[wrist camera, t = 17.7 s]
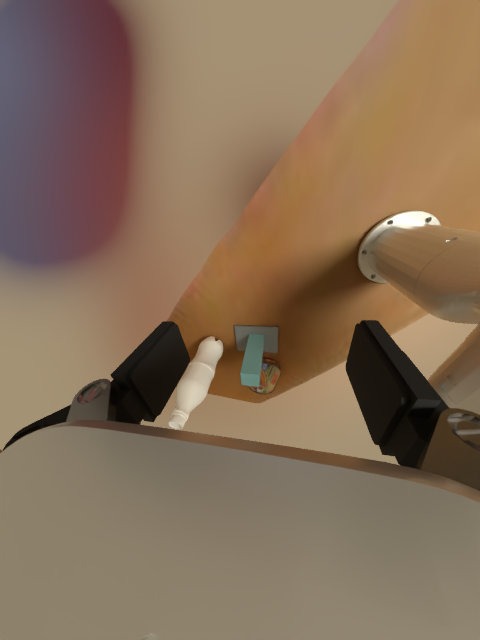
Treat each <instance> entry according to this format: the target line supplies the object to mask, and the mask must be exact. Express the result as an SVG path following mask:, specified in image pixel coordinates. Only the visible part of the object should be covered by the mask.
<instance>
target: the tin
mask: <svg viewBox="0 0 480 640" xmlns="http://www.w3.org/2000/svg"><path fill="white" fill-rule="evenodd" d="M280 375H281V372H280V366H279V364H278V363H277V362H276V361H275V360H272V359H268V358H262V367H261V376H260V384H259V387H255V386H249V387H250V389H251V390H252V391H254V392H256V393H259V394H269V393H271V392H273V391H274V389H275V386H276V384H277V382H278V380H279V378H280Z"/></svg>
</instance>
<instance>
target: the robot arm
mask: <svg viewBox="0 0 480 640" xmlns="http://www.w3.org/2000/svg"><path fill="white" fill-rule="evenodd" d="M388 221H389V223H388V224H387V222H388ZM362 251H364V252H363V253H362ZM357 262H358V267H359V269H360V271H361V272H362V274H363V275H364V276H365V277H367V278H368V279H370V280H372V281H374V282H378V283H390V284H391V285H392V286H394V287H395V288H396V289H398V290H399V291H400V292H401V293H403V294H404V295H405V296H407V297H408V298H409V299H411V300H412V301H413V302H415V303H416V304H417V305H419V306H420V307H421V308H423V309H424V310H425V311H427V312H428V313H430V314H431V315H433V316H435V317H437V318H440V319H443V320H447V321H450V322H456V323H467V324H478V325H477V327H476V328H475V329H474V330H473V331H472V332H471V333H470V334H469V336H468V337H467V338H466V339H465V341H464V342H463V343H462V344H461V345H460V346H459V347H458V348H457V349H456V350H455V351H454V352H453V353H452V354H451V355H450V356H449V357H448V358H447V359H446V360H445V361H444V362H443V363H442V364H441V365H440V366H439V367H438V369H437V370H436V371H435V372H434V373H433V374H432V375H431V376H430V378H429V379H428V380H426V378H425V377H424V376H423V375H422V373H421V372H420V371H419V370H418V369H417V367H416V366H415V365H414V364H413V362H412V361H411V360H410V359H409V357H407V355H406V354H405V353H404V352H403V351H402V350H401V349H400V348H399V347H398V345H397V344H396V343H395V342H394V340H393V339H392V338H391V337H390V335H389V334H388V333H387V332H386V330H385V329H384V328H383V327H382V325H381V324H380V323H379V322H378V321H376V320H362V321H361V322H360V324H356V326H355V330H354V334H353V338H352V342H351V346H350V350H349V354H348V358H347V363H346V372H347V374H348V377H349V380H350V382H351V385H352V388H353V390H354V393H355V395H356V398H357V401H358V403H359V406H360V409H361V411H362V414H363V417H364V419H365V422H366V424H367V427H368V430H369V432H370V435H371V438H372V440H373V442H374V444H376V445H379V447H380V449H381V452H382V455H390V456H395V457H396V459H397V461H398V464H400V465H396V464H391V463H387V462H381V461H375V460H368V459H363V458H357V457H351V456H345V455H340V454H334V453H327V452H320V451H314V450H308V449H301V448H295V447H288V446H281V445H275V444H268V443H262V442H255V441H249V440H242V439H235V438H228V437H222V436H214V435H208V434H201V433H194V432H187V431H181V430H174V429H167V428H159V427H152V426H145V425H140V422H141V421H142V419H143V420H144V421H149V422H154V421H155V419H156V417H157V416H158V415H160V414H161V412H162V410H163V409H164V407H165V405H166V403H167V402H168V400H169V398H170V396H171V394H172V392H173V391H174V389H175V387H176V386H177V384H178V382H179V380H180V379H181V377H182V375H183V373H184V372H185V370H186V368H187V366H188V365H189V362H190V357H189V354H188V352H187V349H186V346H185V344H184V341H183V338H182V336H181V333H180V330H179V328H178V325H177V324H175V323H174V322H162V323H161V324H160V325H159V326H158V327H157V328H156V329H155V330H154V331H153V332H152V333H151V334H150V335H149V336H148V337H147V338H146V339H145V340H144V341H143V342H142V343H141V344H140V345H139V346H138V347H137V348H136V349H135V350H134V351H133V353H132V354H130V356H129V357H128V358H127V359H126V360H125V361H124V362H123V363H122V364H121V365H120V366H119V367H118V368H117V369H116V370H115V371H114V372H113V373H112V374H111V377H112V378H113V379H114V380H113V381H112V382H110V381H109V380H108V379H99V380H96V381H93V382H91V383H90V384H88V385H87V386H85V387H83V388H82V389H81V390H80V391H79V392H78V393H77V394H76V395H75V397H74V399H73V401H72V404H71V405H70V406H67V407H65V408H63V409H61V410H59V411H57V412H55V413H53V414H51V415H49V416H47V417H44V418H43V419H40V420H38V421H36V422H34V423H32V424H30V425H29V426H26V427H25V428H23V429H21V430H20V431H19V432H17V433H16V434H15V435H14V436H13V437H12V438H11V440H10V441H9V442H8V443H7V444H6V446H5V447H4V449H3V451H2V450H0V640H480V232H478V231H472V230H465V229H459V228H453V227H446V226H441V224H440V222H439V220H438V219H437V218H436V217H435V216H434V215H432V214H430V213H428V212H423V211H415V210H412V211H404V212H400V213H396V214H394V215H392V216H389V217H387V218H386V219H384V220H382V221H381V222H379V223H378V224H377V225H376V226H374V227H373V228H372V229H371V230H370V232H369V233H368V234H367V235H366V237H365V238H364V239H363V241H362V243H361V245H360V247H359V251H358V256H357ZM371 275H372V276H371Z"/></svg>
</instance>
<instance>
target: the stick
mask: <svg viewBox="0 0 480 640" xmlns="http://www.w3.org/2000/svg"><path fill="white" fill-rule="evenodd" d="M263 349H264V335H260V334H249V338H248V342H247V346H246V351H245V355H244V359H243V364H242V368H241V372H240V375H241V384H242V385H245V386H255V387H259V384H260V376H261V367H262V358H263Z"/></svg>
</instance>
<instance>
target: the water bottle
mask: <svg viewBox="0 0 480 640" xmlns="http://www.w3.org/2000/svg"><path fill="white" fill-rule="evenodd" d="M222 353H223V344H222V342H221V340H217V341H215V337H213V336H210V337H207V338H206V339H204V340H203V341H202V342H201V343H200V345H199V347H198V351H197V353H196V356H195V357H194V359H193V360H192V361H191V362H190V363H189V365H188V366H187V369H186V371H185V373H184V375H183V376H182V378H181V380H180V381H179V383H178V385H177V389H176V407H175V409H174V410H173V412H172V415H171V416H172V417H171V418H170V420H169V423H168V424H169V426H170V427H172V428H174V429H177V430H181V429H182V428H183V426H184V423H185V422H186V420H187V419H188V418H189V413H190V412H191V411H192V410H193V409H194V408H195V407H196V406H198V405H199V404H200V403H201V402H202V401H203V400H204V398H205V397H206V395H207V391H208V388H209V386H210V383H211V381H212V379H213V377H214V374H215V368H216V364H217V362H218V360H219V359H220V358H221V356H222Z"/></svg>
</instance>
